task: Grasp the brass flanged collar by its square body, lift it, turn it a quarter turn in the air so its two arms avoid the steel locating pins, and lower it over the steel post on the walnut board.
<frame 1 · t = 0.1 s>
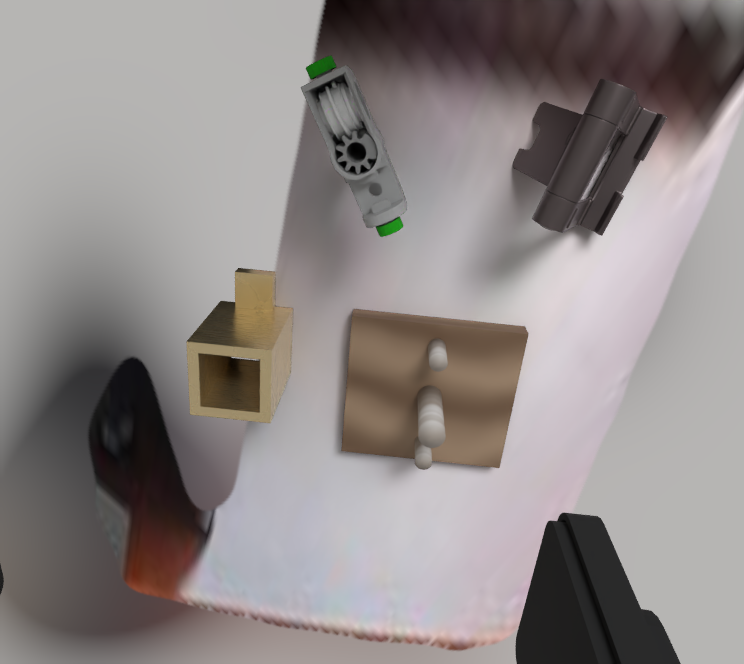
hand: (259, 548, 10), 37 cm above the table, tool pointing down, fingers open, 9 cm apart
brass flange: (256, 337, 49), on the table
mechanical component: (367, 135, 42), on the table
post dock: (428, 387, 50), on the table
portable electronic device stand: (574, 155, 42), on the table
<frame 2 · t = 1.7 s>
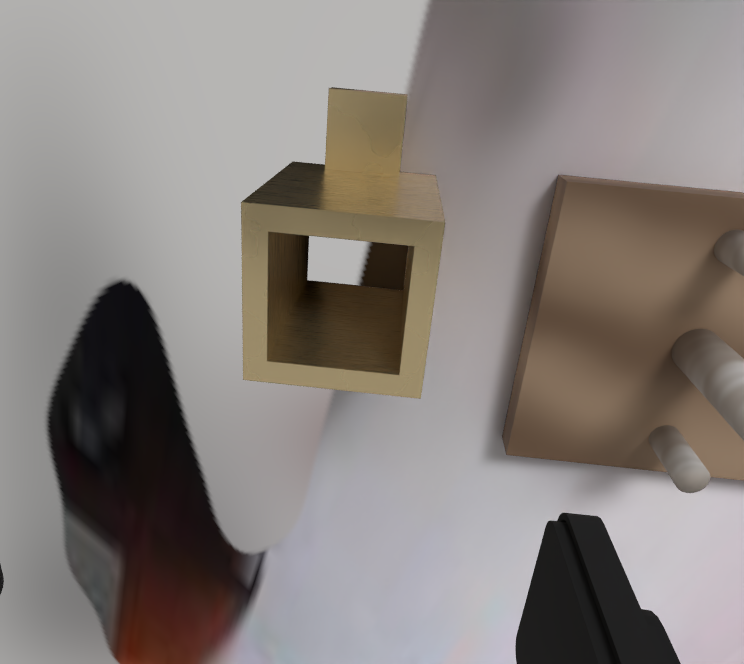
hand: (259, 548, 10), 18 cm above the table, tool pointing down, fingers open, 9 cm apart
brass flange: (358, 238, 25), on the table
post dock: (681, 335, 26), on the table
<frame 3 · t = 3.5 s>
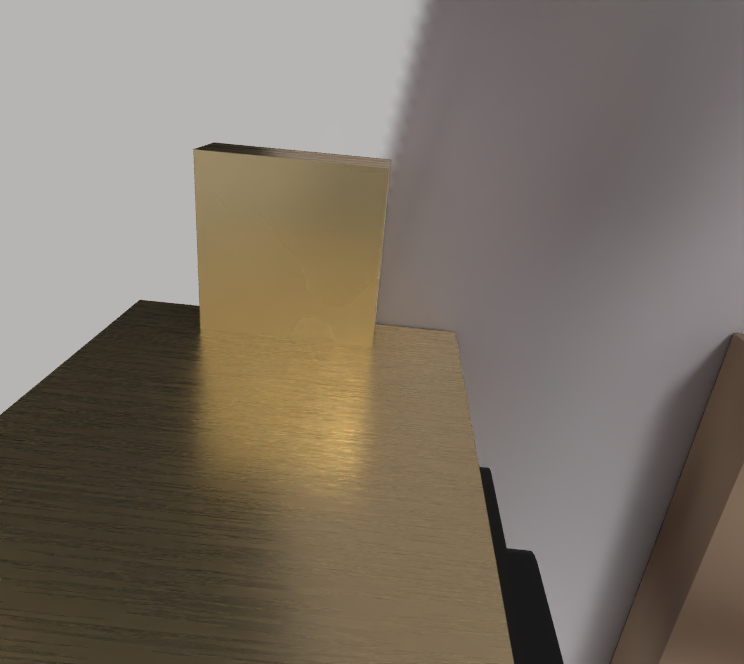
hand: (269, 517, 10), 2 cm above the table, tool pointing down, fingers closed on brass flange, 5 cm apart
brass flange: (292, 447, 12), on the table, touching gripper
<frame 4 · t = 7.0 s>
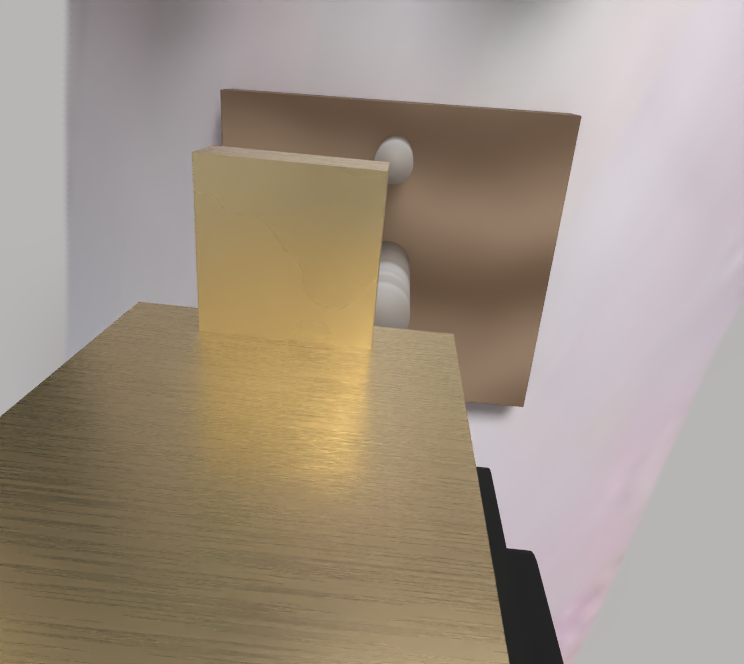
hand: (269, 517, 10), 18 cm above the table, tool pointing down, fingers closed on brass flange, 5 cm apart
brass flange: (290, 449, 12), point 16 cm above the table, touching gripper
post dock: (387, 254, 26), on the table
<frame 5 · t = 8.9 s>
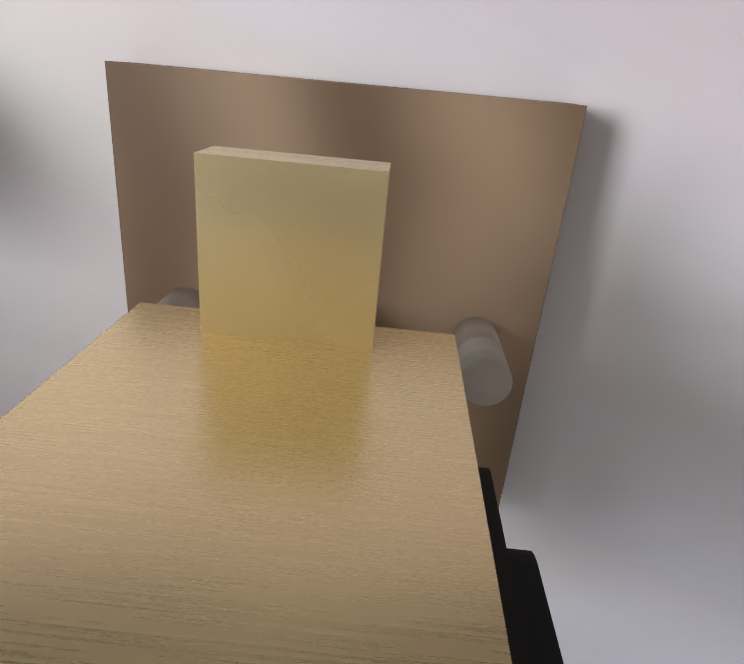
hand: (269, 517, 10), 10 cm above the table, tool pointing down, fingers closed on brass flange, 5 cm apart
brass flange: (291, 449, 12), point 8 cm above the table, touching gripper
post dock: (335, 305, 20), on the table
when the fingers open (5 cm above the table, at t = 10.5 s): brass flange drops 1 cm, resting on post dock.
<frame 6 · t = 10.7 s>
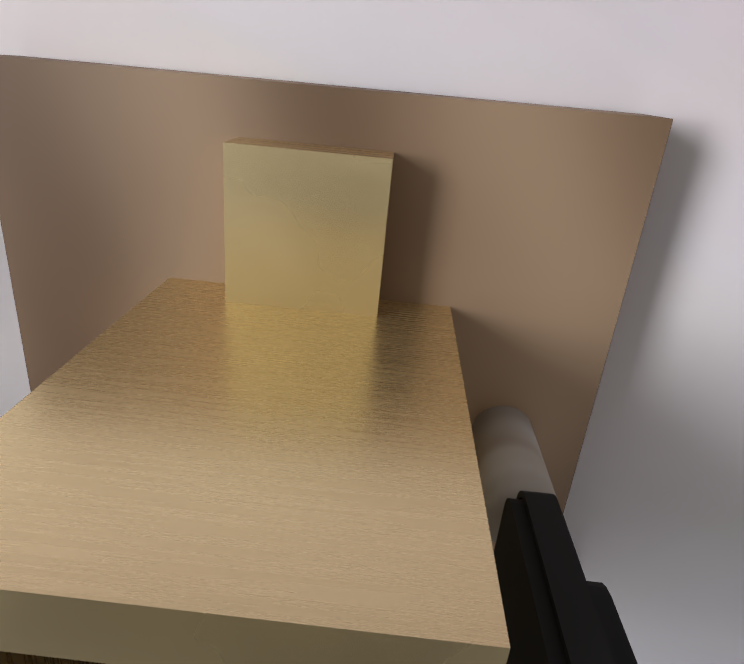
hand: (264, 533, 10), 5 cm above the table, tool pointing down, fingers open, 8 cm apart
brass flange: (303, 412, 13), point 1 cm above the table, touching post dock
post dock: (313, 380, 15), on the table
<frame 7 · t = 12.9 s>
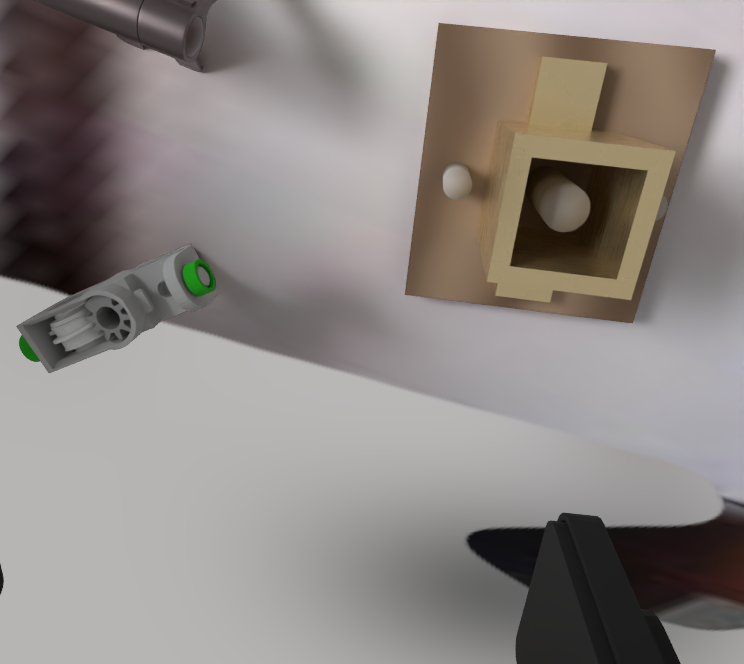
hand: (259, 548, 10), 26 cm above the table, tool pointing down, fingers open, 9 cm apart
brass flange: (543, 186, 30), point 1 cm above the table, touching post dock
mechanical component: (190, 258, 36), on the table
post dock: (539, 180, 32), on the table
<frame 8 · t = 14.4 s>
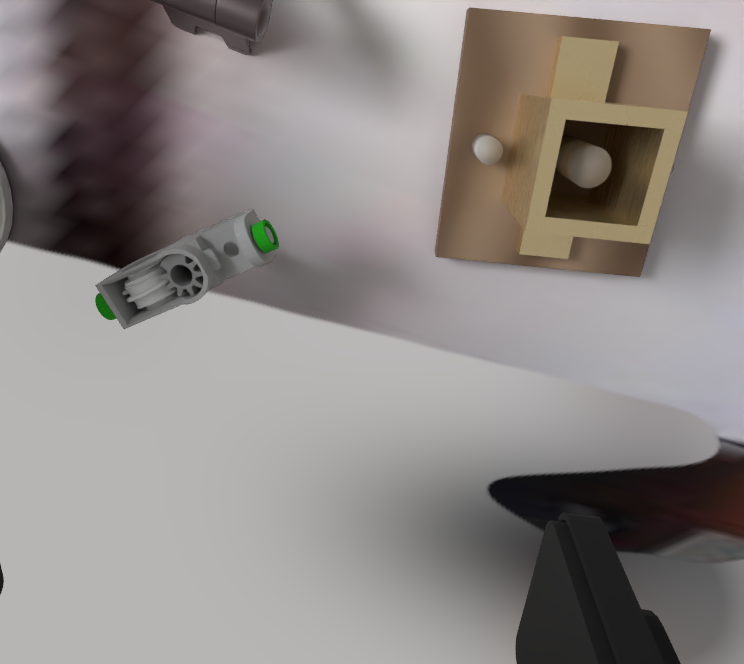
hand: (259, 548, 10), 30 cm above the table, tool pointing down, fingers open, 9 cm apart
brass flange: (561, 153, 34), point 1 cm above the table, touching post dock
mechanical component: (234, 229, 39), on the table
post dock: (555, 150, 35), on the table
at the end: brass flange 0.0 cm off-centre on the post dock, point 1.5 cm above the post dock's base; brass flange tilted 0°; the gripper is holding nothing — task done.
